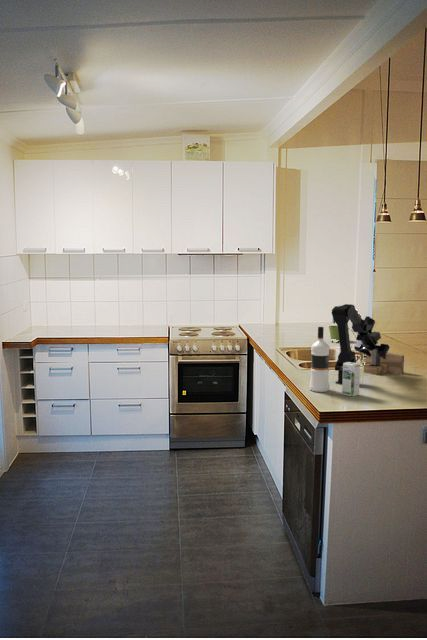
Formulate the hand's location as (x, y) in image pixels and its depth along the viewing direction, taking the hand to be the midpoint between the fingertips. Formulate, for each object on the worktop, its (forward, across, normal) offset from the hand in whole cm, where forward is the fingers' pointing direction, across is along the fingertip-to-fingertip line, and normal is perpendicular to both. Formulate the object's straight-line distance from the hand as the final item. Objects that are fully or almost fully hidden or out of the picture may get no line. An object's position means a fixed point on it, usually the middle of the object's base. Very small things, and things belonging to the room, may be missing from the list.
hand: (377, 357), depth 290 cm
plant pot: (+49, +76, -37) cm, 98 cm away
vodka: (-32, -6, +44) cm, 55 cm away
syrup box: (-29, -20, +41) cm, 54 cm away
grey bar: (+5, 0, +7) cm, 8 cm away
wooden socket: (+6, 0, +5) cm, 8 cm away
